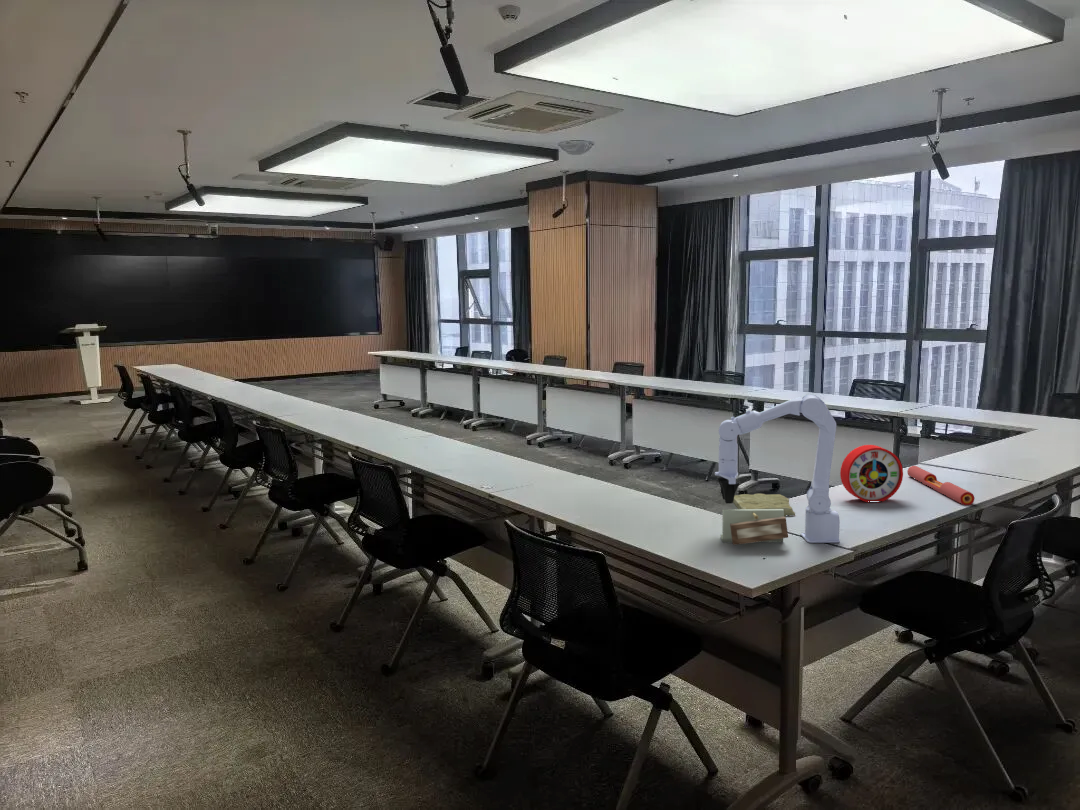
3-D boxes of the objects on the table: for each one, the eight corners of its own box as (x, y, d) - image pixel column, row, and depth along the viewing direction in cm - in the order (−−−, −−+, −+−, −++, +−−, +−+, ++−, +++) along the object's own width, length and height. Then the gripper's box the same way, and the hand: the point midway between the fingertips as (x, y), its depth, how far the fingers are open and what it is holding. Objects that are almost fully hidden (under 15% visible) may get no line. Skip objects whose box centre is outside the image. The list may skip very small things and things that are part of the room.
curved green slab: (779, 538, 226) (780, 506, 225) (786, 546, 218) (787, 513, 217) (720, 538, 227) (720, 506, 226) (725, 546, 220) (725, 514, 218)
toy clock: (846, 503, 262) (848, 448, 259) (839, 499, 268) (841, 445, 265) (901, 502, 262) (904, 447, 259) (893, 497, 268) (896, 443, 265)
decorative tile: (743, 518, 249) (744, 508, 249) (731, 502, 269) (731, 492, 268) (799, 518, 248) (800, 507, 248) (782, 501, 268) (783, 492, 268)
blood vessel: (974, 505, 257) (975, 491, 256) (959, 506, 257) (960, 492, 256) (919, 477, 298) (920, 465, 297) (906, 477, 298) (907, 465, 298)
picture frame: (786, 535, 218) (784, 516, 217) (788, 537, 216) (785, 518, 215) (732, 543, 219) (729, 524, 218) (733, 545, 217) (730, 525, 217)
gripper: (711, 454, 236) (710, 495, 238) (719, 463, 222) (718, 507, 224) (733, 453, 236) (733, 495, 238) (743, 463, 221) (742, 507, 223)
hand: (727, 501), depth 231 cm, fingers open, 4 cm apart
